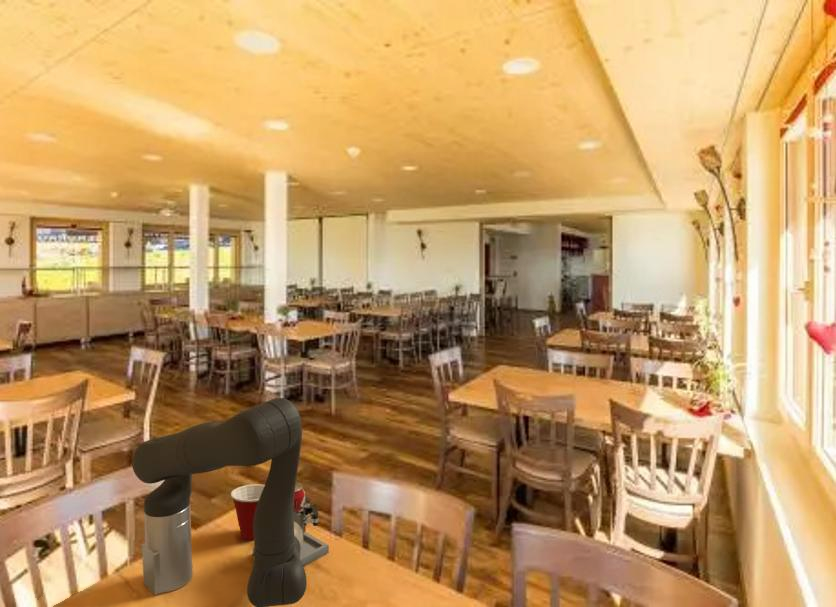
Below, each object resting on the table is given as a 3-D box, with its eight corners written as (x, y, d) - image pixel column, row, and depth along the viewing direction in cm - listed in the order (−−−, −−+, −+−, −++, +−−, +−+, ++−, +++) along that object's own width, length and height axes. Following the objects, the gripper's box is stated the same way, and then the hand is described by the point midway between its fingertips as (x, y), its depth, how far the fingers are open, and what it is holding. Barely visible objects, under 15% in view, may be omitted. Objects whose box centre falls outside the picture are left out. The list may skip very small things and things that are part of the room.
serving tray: (284, 577, 118) (284, 569, 117) (252, 555, 126) (252, 547, 126) (328, 552, 127) (328, 545, 127) (296, 534, 136) (296, 526, 136)
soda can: (298, 543, 122) (297, 494, 121) (272, 540, 123) (271, 491, 122) (310, 528, 129) (309, 482, 128) (285, 526, 130) (284, 480, 129)
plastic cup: (283, 531, 137) (282, 487, 136) (251, 550, 128) (249, 504, 127) (256, 519, 143) (255, 478, 142) (222, 537, 134) (221, 493, 133)
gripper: (318, 518, 112) (320, 485, 129) (250, 523, 110) (261, 489, 126) (319, 551, 113) (321, 514, 129) (251, 557, 110) (261, 519, 127)
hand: (291, 502), depth 128 cm, fingers closed on soda can, 6 cm apart
